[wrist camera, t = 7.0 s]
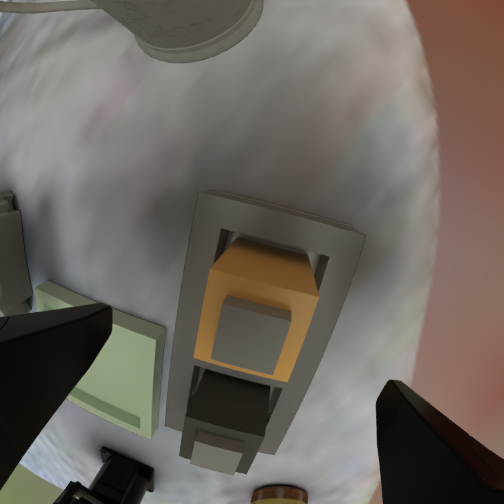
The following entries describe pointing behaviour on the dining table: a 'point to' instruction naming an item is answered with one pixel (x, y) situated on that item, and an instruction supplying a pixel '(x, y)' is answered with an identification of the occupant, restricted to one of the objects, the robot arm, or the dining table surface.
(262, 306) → the plug
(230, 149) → the dining table surface
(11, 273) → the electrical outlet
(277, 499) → the sauce bottle
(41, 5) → the grey pitcher
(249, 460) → the twin plug
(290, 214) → the power strip
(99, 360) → the tray
